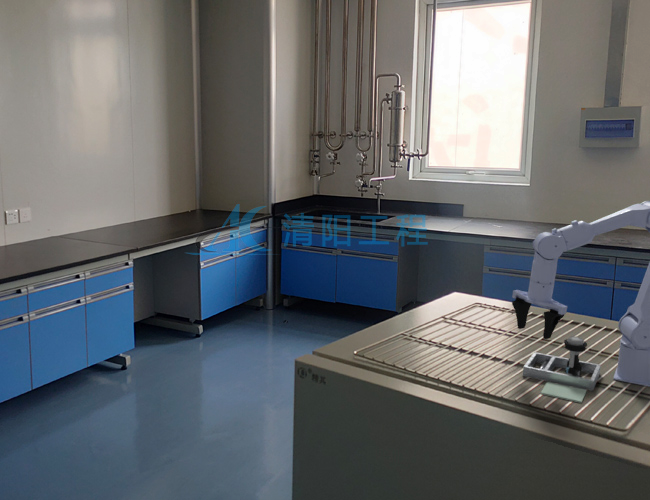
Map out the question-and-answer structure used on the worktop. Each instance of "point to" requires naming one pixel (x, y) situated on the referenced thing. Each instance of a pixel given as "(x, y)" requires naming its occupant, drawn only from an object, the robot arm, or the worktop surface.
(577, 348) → the push button
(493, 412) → the worktop surface
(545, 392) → the mat
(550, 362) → the grey divided frame
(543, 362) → the rod
